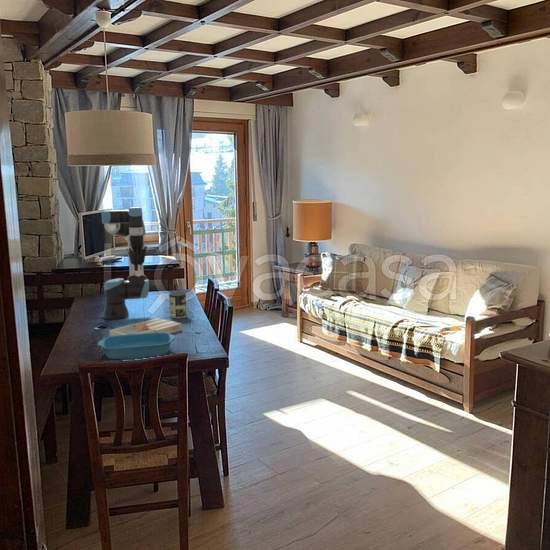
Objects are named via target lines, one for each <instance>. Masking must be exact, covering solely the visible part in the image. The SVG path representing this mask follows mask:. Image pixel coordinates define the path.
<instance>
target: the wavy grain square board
mask: <svg viewBox="0 0 550 550" xmlns="http://www.w3.org/2000/svg"><path fill="white" fill-rule="evenodd" d="M139 323H143V324H146V325H147V327H148V329H147V330H146V331H148V330H151V329H154V333H157V332H165V333H169V334H173V333H178V332H180V331H182V330H183V329H182V327H183V325H182V323H181V322H177V321H172V320H170V319H169V320H168V319H163V318H159V317H157V318H153V319H149V320H143V321H141V322H139ZM133 324H134V327H135V326H136V325H137V324H138V322H136V323H133Z"/></svg>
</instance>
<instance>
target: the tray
mask: <svg viewBox="0 0 550 550" xmlns="http://www.w3.org/2000/svg"><path fill="white" fill-rule="evenodd" d="M134 324H135V323H132V324H127V325H124V326H120V327H116V328H115V327H114V328H113V329H109V330H108V337H109V336H116V335H127V334H124V333H122V332H125V331H128V330H133V328H134ZM142 333H154V329H151V330H148V331H144V332H140V333H137V334H142Z"/></svg>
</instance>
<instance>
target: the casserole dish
mask: <svg viewBox="0 0 550 550" xmlns="http://www.w3.org/2000/svg"><path fill="white" fill-rule="evenodd" d="M175 339H176V336H175V335H174V334H172V333H170V334H169V333H165V332H157V333H142V334H127V335H116V336H109V335H108V336H107V337H105V338H103V339H101V340H99V341H97V346H99V347H102V349H103V352H104V354H105V356H106V357H107V358H108V359H110V360H125V359H127V358H128V359H138V358H151V357H152V358H153V357H159V356H164V355H166V354H167V353H168V352H169V350H170V347H171V344H172V342H173V341H175Z"/></svg>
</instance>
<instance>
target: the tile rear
mask: <svg viewBox="0 0 550 550" xmlns="http://www.w3.org/2000/svg"><path fill="white" fill-rule="evenodd" d="M137 323H138V324H137V325H136V326H135V327H134V328H133V331H137V332H138V333H140V332H144V331H146V330H147V329H148V327H147V325H146V324H143V323H140V322H137Z"/></svg>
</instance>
